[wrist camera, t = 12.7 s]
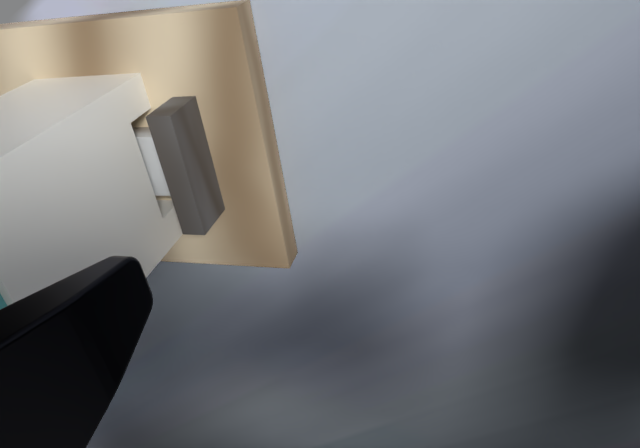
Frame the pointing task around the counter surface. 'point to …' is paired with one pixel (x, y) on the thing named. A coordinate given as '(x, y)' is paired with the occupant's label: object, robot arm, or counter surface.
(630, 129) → the counter surface
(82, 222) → the panel
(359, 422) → the counter surface
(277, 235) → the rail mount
